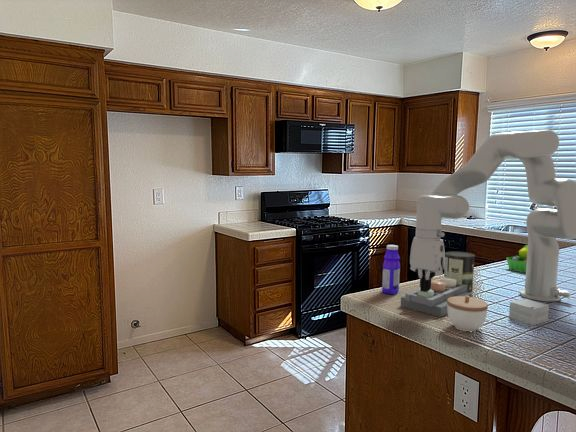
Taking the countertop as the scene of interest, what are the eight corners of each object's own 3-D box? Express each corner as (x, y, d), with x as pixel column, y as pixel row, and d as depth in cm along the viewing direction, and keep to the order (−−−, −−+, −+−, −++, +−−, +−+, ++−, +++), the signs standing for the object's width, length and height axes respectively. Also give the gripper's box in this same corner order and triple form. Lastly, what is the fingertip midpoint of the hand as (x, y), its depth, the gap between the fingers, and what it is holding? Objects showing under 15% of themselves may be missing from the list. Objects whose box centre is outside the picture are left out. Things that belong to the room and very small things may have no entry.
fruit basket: (504, 268, 194) (506, 244, 193) (517, 266, 198) (519, 242, 196) (527, 274, 184) (529, 248, 182) (540, 272, 187) (542, 247, 186)
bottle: (386, 288, 160) (387, 243, 158) (400, 291, 157) (402, 244, 155) (379, 293, 154) (381, 246, 152) (395, 296, 151) (396, 247, 149)
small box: (523, 313, 134) (524, 297, 133) (548, 321, 127) (549, 304, 127) (508, 317, 130) (509, 301, 130) (533, 326, 123) (534, 309, 123)
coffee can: (469, 288, 161) (471, 251, 160) (475, 296, 151) (477, 257, 150) (440, 286, 163) (442, 250, 162) (445, 294, 153) (447, 256, 152)
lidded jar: (483, 338, 114) (485, 304, 113) (441, 329, 119) (443, 297, 118) (488, 325, 123) (490, 294, 122) (449, 318, 128) (451, 288, 127)
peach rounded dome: (447, 291, 142) (448, 283, 141) (440, 294, 138) (441, 285, 138) (433, 288, 145) (434, 280, 145) (426, 291, 142) (427, 282, 141)
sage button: (436, 299, 136) (436, 290, 136) (428, 303, 133) (428, 293, 133) (421, 296, 140) (422, 287, 140) (414, 299, 136) (414, 290, 136)
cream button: (458, 287, 147) (459, 278, 147) (452, 290, 144) (452, 281, 143) (444, 284, 151) (445, 276, 150) (438, 287, 147) (438, 278, 147)
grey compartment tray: (473, 300, 146) (474, 286, 145) (438, 318, 129) (439, 302, 128) (435, 292, 156) (435, 278, 155) (398, 307, 139) (398, 292, 138)
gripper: (456, 236, 131) (452, 293, 133) (412, 230, 142) (410, 283, 144) (444, 238, 126) (441, 298, 128) (400, 232, 137) (398, 287, 139)
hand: (425, 290), depth 136 cm, fingers closed
